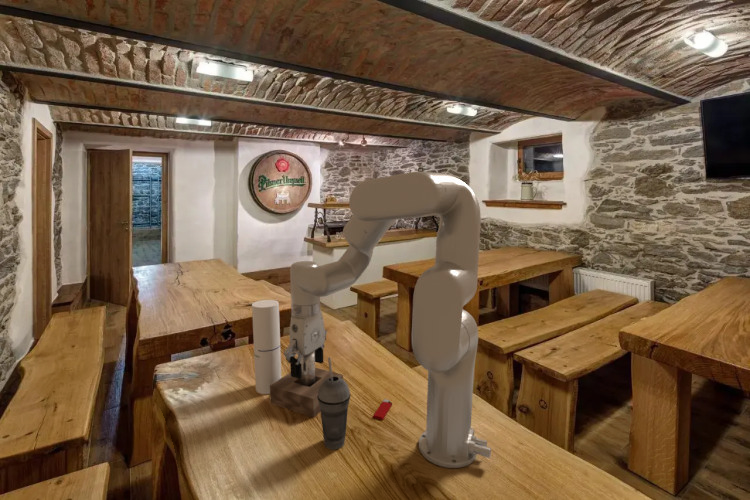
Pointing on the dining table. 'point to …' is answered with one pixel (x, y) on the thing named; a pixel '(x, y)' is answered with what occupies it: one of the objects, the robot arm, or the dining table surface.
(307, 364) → the steel peg
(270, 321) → the cylindrical container
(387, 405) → the lighter
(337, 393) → the beverage cup
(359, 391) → the dining table surface
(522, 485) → the dining table surface
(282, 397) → the walnut socket block
